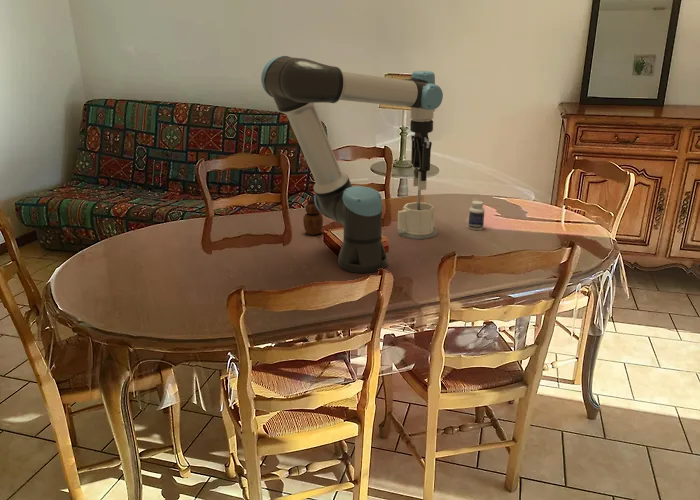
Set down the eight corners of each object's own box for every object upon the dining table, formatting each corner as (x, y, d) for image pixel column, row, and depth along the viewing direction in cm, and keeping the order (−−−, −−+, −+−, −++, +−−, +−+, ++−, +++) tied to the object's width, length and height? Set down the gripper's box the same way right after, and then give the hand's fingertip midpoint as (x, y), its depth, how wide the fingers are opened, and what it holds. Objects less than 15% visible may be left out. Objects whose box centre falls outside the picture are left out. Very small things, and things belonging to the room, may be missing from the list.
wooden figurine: (324, 231, 212) (323, 190, 207) (321, 236, 207) (320, 195, 202) (305, 230, 213) (303, 190, 208) (302, 236, 208) (301, 194, 202)
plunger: (414, 222, 204) (416, 169, 197) (404, 216, 210) (405, 165, 203) (432, 219, 207) (434, 167, 200) (422, 213, 213) (424, 163, 206)
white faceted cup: (407, 241, 201) (408, 215, 198) (389, 229, 213) (389, 204, 210) (445, 235, 207) (446, 209, 203) (424, 223, 219) (425, 199, 215)
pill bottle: (484, 230, 212) (486, 204, 208) (469, 230, 212) (471, 204, 208) (481, 225, 217) (483, 200, 213) (466, 225, 217) (468, 200, 213)
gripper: (442, 123, 189) (439, 193, 197) (423, 115, 204) (421, 180, 213) (420, 124, 187) (417, 195, 196) (402, 116, 203) (401, 182, 211)
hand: (419, 187), depth 204 cm, fingers closed on plunger, 4 cm apart
